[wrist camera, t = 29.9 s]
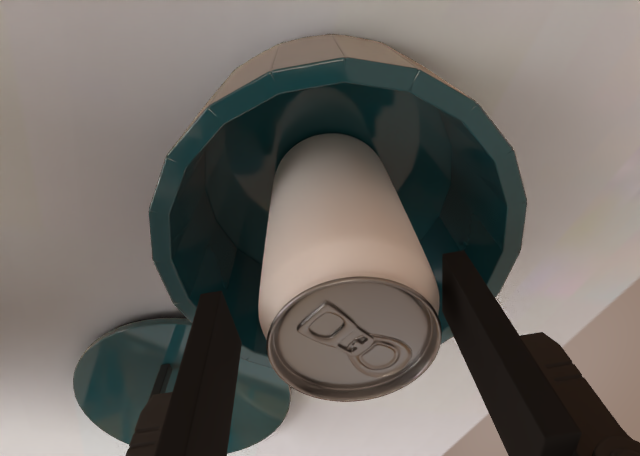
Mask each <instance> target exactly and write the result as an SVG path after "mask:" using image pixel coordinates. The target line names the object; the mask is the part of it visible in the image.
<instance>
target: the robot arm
mask: <svg viewBox="0 0 640 456" xmlns="http://www.w3.org/2000/svg"><path fill="white" fill-rule="evenodd" d="M442 312H443V314H444V316H445V318H446V320H447V323H448V325H449V327H450V329H451V331H452V333H453V336H454V338H455V340H456V342H457V344H458V346H459V349H460V351H461V353H462V355H463V357H464V359H465V362H466V364H467V366H468V368H469V370H470V373H471V375H472V377H473V379H474V381H475V383H476V386H477V388H478V390H479V392H480V394H481V396H482V399H483V401H484V403H485V405H486V407H487V410H488V412H489V414H490V416H491V418H492V420H493V422H494V425H495V427H496V429H497V431H498V433H499V435H500V438H501V440H502V442H503V444H504V446H505V449H506V451H507V453H508V455H509V456H640V443H639V442H637V441H635V440H633V439H632V438H631V437H629V436H628V435H627V434H626V432H625V431H624V430H623V429H622V428H621V427H620V425H619V424H618V423H617V421H616V420H615V419H614V417H613V416H612V415H611V413H610V412H609V411H608V409H607V408H606V407H605V405H604V404H603V403H602V401H601V400H600V398H599V397H598V396H597V395H596V393H595V392H594V390H593V389H592V388H591V386H590V385H589V384H588V382H587V381H586V380H585V379H584V378H583V377H582V374H581V373H580V371H579V370H578V369H577V367H576V366H575V365H574V364H572V361H571V360H570V358H569V357H568V356H567V354H566V353H565V351H564V350H563V348H562V347H561V346H560V345H559V344H558V343H557V342H555V341H554V340H552V339H551V338H550V337H548V336H547V335H546V334H544V333H543V332H540V333H534V334H528V335H521V336H519V334H518V333H517V331H516V330H515V328H514V327H513V325H512V324H511V322H510V321H509V319H508V317H507V316H506V314H505V313H504V311H503V310H502V308H501V307H500V305H499V304H498V302H497V300H496V299H495V297H494V296H493V294H492V293H491V291H490V290H489V288H488V286H487V285H486V283H485V282H484V280H483V279H482V277H481V276H480V274H479V273H478V271H477V269H476V268H475V266H474V265H473V263H472V262H471V260H470V259H469V257H468V255H467V254H466V252H465V251H464V250H463V251H457V252H451V253H445V254H442ZM241 346H242V342H241V339H240V337H239V334H238V332H237V329H236V326H235V324H234V321H233V319H232V316H231V313H230V311H229V308H228V306H227V303H226V300H225V298H224V295H223V293H222V291H216V292H210V293H204V294H201V295H200V298H199V302H198V305H197V309H196V312H195V316H194V319H193V323H192V326H191V330H190V333H189V337H188V340H187V343H186V347H185V350H184V354H183V357H182V361H181V364H180V368H179V371H178V375H177V378H176V382H175V385H174V389H173V392H168V393H162V394H155V395H153V396H152V397H151V399H150V400H149V401H148V403H147V404H146V405H145V407H144V408H143V410H142V411H141V413H140V416H139V419H138V422H137V424H136V427H135V433H134V434H133V436H132V439H131V442H130V445H129V446H130V448H129V449H128V450H127V453H126V456H227V449H228V442H229V435H230V427H231V420H232V412H233V405H234V398H235V390H236V383H237V376H238V368H239V361H240V353H241Z"/></svg>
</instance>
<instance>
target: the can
mask: <svg viewBox="0 0 640 456" xmlns="http://www.w3.org/2000/svg"><path fill="white" fill-rule="evenodd" d="M438 313H439V290H438V286H437V283H436V279H435V277H434V274H433V272H432V269H431V267H430V264H429V262H428V260H427V258H426V255H425V253H424V251H423V249H422V246H421V244H420V242H419V240H418V238H417V236H416V233H415V231H414V229H413V227H412V225H411V223H410V220H409V218H408V216H407V214H406V212H405V210H404V207H403V205H402V203H401V201H400V199H399V197H398V195H397V192H396V190H395V188H394V186H393V184H392V182H391V180H390V178H389V175H388V173H387V171H386V169H385V167H384V165H383V163H382V162H381V160H380V158H379V157H378V155H377V154H376V153H375V152H374V151H373V149H372V148H370V147H369V146H368V145H367V144H365V143H364V142H362V141H361V140H359V139H357V138H354V137H351V136H348V135H344V134H337V133H327V134H320V135H316V136H312V137H309V138H307V139H305V140H303V141H301V142H299V143H298V144H296V145H295V146H294V147H293V148H291V149H290V150H289V151H288V152H287V153H286V155H285V156H284V157H283V158H282V160H281V162H280V163H279V165H278V168H277V170H276V173H275V177H274V182H273V188H272V195H271V202H270V210H269V217H268V225H267V232H266V240H265V248H264V256H263V264H262V272H261V280H260V289H259V301H258V314H259V321H260V325H261V328H262V331H263V334H264V336H265V338H266V340H267V341H266V349H267V355H268V359H269V361H270V364H271V366H272V368H273V369H274V371H275V372H276V373H277V375H278V376H279V377H280V378H281V379H282V380H283V381H284V382H285V383H287V384H288V385H289V386H291V387H292V388H294V389H296V390H298V391H299V392H302V393H304V394H306V395H309V396H312V397H315V398H319V399H324V400H330V401H341V402H350V401H362V400H369V399H374V398H378V397H381V396H384V395H387V394H390V393H393V392H395V391H397V390H399V389H401V388H403V387H405V386H407V385H408V384H410V383H412V382H413V381H414V380H416V379H417V378H418V377H419V376H421V375H422V374H423V373H424V372H425V371H426V370H427V369H428V367H429V366H430V365H431V364H432V362H433V361H434V359H435V357H436V355H437V353H438V351H439V348H440V344H441V338H442V329H441V324H440V320H439V317H438Z"/></svg>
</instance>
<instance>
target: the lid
mask: <svg viewBox="0 0 640 456" xmlns="http://www.w3.org/2000/svg"><path fill="white" fill-rule="evenodd" d="M191 326H192V323H191V322H190V321H189V320H188V319H185V318H158V319H148V320H143V321H138V322H133V323H130V324H127V325H124V326H121V327H118V328H116V329H114V330H112V331H109V332H107V333H106V334H104V335H103V336H101V337H100V338H98V339H97V340H96V341H94V342H93V343H92V344H91V345H90V346H89V347H88V348H87V350H86V351H85V352H84V354H83V355H82V356H81V358H80V360H79V362H78V364H77V366H76V368H75V372H74V377H73V389H74V393H75V397H76V399H77V401H78V404H79V406H80V407H81V409H82V410H83V412H84V413H85V414H86V415H87V417H88V418H89V419H90V420H91V421H92V422H93V423H94V424H96V425H97V426H98V427H99V428H100V429H102V430H103V431H105V432H106V433H108V434H109V435H111V436H113V437H114V438H116V439H118V440H120V441H122V442H124V443H127V444H129V445H130V442H131V439H132V436H133V434H134V433H135V427H136V424H137V422H138V419H139V416H140V413H141V411H142V410H143V408H144V407H145V405H146V404H147V403H148V401H149V400H150V399H151V397H152V396H153V395H155V394H162V393H168V392H173V389H174V385H175V382H176V378H177V375H178V371H179V368H180V364H181V361H182V357H183V354H184V350H185V347H186V343H187V340H188V337H189V333H190V330H191ZM289 405H290V386H289V385H288V384H287V383H285V382H284V381H283V380H282V379H281V378H280V377H279V376H278V375H277V373H276V372H275V371H274V369H273V368H269V367H266V366H262V365H259V364H256V363H252V362H249V361H247V360H244V359H242V358H240V361H239V368H238V376H237V383H236V390H235V398H234V405H233V412H232V420H231V427H230V435H229V442H228V449H227V454H228V453H231V452H235V451H239V450H242V449H245V448H247V447H250V446H252V445H254V444H256V443H258V442H260V441H262V440H263V439H265V438H267V437H268V436H269V435H270V434H272V433H273V432H274V431H275V430H276V429H277V428H278V427H279V426H280V425H281V423H282V422H283V420H284V419H285V417H286V414H287V412H288V410H289Z"/></svg>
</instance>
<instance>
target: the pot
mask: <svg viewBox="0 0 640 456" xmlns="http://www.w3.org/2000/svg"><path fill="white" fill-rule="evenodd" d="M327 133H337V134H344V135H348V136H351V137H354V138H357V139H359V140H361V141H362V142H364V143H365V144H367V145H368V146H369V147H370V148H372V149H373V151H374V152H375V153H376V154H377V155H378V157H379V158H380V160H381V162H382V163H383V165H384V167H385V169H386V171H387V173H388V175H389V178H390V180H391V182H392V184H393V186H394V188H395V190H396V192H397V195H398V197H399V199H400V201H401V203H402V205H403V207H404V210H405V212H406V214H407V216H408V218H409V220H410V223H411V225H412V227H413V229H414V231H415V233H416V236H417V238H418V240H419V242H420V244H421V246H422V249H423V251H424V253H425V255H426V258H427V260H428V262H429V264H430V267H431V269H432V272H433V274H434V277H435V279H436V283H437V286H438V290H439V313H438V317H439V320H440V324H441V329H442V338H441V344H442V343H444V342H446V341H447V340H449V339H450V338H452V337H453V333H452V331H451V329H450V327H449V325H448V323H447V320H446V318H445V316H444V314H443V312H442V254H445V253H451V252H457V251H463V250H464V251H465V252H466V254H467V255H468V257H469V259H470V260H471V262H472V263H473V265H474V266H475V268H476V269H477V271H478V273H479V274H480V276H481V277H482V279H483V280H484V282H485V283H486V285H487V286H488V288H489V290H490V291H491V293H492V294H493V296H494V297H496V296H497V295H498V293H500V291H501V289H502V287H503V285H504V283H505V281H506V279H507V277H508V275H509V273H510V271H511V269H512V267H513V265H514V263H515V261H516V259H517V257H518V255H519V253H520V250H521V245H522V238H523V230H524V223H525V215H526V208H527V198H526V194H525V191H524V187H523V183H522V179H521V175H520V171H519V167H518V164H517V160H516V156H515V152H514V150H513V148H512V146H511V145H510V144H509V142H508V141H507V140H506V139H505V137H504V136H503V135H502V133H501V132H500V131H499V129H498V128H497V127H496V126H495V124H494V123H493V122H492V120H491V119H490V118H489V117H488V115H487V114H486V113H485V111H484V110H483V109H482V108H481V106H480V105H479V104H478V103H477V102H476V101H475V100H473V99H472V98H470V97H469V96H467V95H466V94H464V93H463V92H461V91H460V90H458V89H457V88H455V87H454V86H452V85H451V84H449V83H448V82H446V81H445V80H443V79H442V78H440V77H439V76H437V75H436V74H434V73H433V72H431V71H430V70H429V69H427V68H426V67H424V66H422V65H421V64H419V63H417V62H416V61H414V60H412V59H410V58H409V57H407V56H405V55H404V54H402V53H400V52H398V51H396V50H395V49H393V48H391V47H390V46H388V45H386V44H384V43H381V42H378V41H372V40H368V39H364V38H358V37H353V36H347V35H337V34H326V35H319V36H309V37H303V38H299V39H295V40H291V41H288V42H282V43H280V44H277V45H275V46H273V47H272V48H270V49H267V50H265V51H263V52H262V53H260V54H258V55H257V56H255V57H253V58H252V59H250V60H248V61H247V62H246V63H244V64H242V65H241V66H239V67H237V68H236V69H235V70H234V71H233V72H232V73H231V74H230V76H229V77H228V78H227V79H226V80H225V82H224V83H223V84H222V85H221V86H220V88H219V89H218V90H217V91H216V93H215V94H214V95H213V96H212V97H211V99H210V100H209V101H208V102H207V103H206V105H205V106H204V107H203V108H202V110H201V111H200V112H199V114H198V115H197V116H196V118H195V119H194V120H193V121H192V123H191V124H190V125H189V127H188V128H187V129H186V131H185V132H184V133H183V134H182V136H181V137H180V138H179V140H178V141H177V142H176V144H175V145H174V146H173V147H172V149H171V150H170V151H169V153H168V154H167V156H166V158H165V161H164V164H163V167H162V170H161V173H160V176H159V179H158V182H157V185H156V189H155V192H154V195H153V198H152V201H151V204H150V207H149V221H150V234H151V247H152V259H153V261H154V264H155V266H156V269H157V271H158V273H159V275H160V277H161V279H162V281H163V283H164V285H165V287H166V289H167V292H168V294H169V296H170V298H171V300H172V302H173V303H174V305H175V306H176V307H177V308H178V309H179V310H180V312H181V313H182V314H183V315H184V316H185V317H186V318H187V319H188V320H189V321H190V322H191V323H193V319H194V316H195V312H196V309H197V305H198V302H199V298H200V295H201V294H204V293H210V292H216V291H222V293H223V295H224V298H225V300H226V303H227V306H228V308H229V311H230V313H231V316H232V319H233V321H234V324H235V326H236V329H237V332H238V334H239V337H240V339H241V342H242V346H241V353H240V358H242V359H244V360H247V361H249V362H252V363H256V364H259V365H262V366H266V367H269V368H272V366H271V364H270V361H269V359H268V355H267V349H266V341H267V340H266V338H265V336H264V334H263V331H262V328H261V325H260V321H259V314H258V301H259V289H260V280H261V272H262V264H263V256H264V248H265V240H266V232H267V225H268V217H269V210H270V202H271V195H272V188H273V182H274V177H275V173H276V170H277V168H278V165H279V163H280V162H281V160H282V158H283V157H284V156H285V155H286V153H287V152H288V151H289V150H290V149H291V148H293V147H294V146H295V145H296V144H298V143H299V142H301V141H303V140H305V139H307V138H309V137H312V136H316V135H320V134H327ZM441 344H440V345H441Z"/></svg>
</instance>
